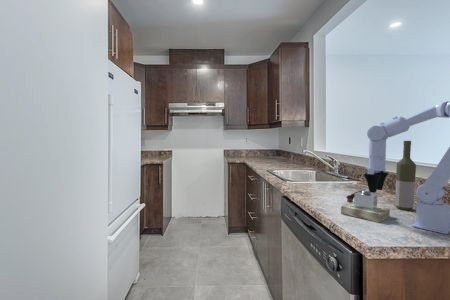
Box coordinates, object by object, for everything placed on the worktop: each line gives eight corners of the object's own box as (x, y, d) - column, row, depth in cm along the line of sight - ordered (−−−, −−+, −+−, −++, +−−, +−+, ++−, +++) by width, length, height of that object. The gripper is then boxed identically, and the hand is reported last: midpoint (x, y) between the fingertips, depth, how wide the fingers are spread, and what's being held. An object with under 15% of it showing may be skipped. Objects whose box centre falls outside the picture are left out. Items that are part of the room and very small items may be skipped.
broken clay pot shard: (364, 212, 109) (354, 194, 111) (349, 215, 117) (339, 199, 119) (382, 202, 114) (372, 185, 116) (366, 206, 122) (357, 190, 124)
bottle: (417, 211, 109) (420, 141, 108) (398, 210, 110) (402, 140, 109) (408, 207, 116) (412, 140, 115) (391, 206, 117) (394, 140, 116)
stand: (389, 216, 102) (389, 207, 101) (379, 222, 93) (380, 213, 93) (352, 208, 112) (352, 201, 112) (340, 213, 104) (341, 205, 103)
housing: (376, 207, 102) (377, 192, 101) (373, 209, 98) (374, 194, 98) (358, 204, 107) (358, 189, 106) (354, 205, 103) (354, 191, 103)
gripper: (371, 155, 109) (370, 187, 109) (359, 156, 99) (358, 191, 99) (391, 156, 104) (389, 189, 104) (380, 157, 94) (378, 194, 94)
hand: (375, 191), depth 102 cm, fingers open, 7 cm apart
